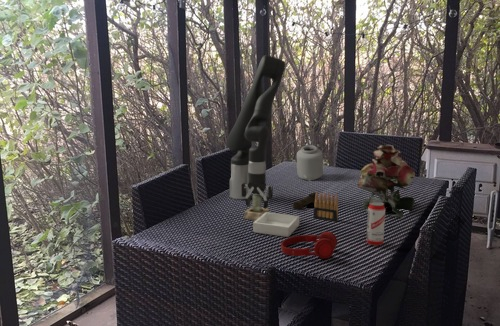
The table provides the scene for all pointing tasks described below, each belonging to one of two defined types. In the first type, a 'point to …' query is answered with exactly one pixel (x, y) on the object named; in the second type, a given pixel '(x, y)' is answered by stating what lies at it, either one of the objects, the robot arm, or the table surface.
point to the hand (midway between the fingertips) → (256, 207)
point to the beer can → (375, 223)
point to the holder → (254, 213)
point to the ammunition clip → (326, 208)
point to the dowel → (256, 203)
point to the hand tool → (304, 201)
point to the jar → (309, 163)
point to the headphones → (321, 248)
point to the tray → (276, 224)
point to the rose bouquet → (387, 180)
